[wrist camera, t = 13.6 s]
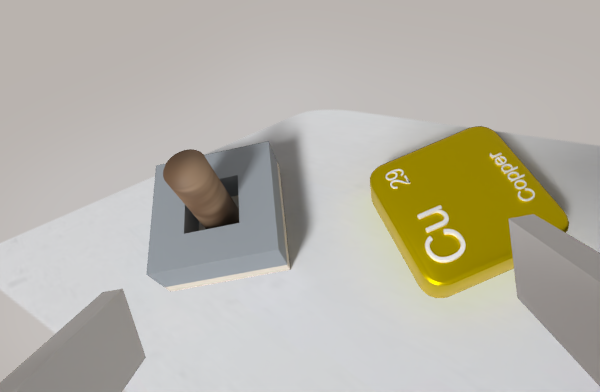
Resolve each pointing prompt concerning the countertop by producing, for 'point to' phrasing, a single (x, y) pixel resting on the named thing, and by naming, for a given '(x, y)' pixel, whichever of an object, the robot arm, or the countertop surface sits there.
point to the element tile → (458, 208)
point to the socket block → (226, 239)
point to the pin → (200, 189)
